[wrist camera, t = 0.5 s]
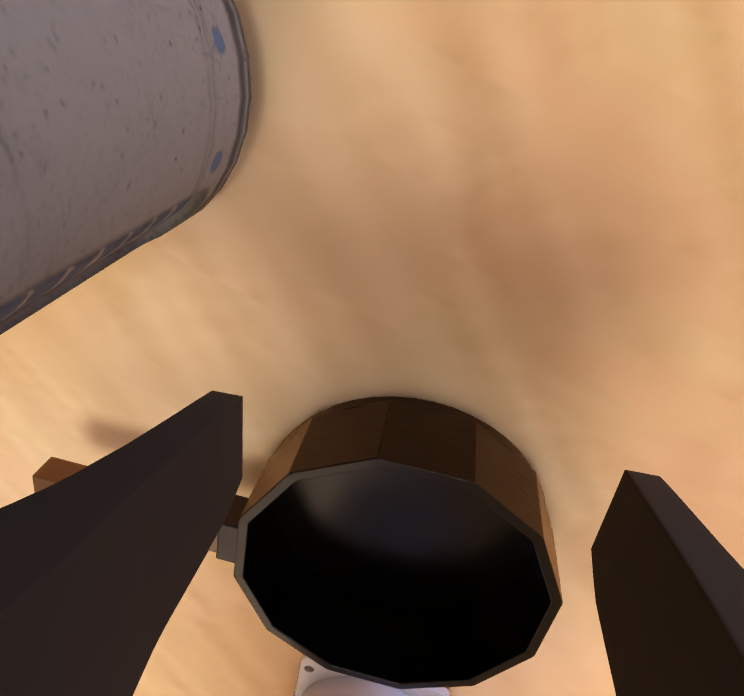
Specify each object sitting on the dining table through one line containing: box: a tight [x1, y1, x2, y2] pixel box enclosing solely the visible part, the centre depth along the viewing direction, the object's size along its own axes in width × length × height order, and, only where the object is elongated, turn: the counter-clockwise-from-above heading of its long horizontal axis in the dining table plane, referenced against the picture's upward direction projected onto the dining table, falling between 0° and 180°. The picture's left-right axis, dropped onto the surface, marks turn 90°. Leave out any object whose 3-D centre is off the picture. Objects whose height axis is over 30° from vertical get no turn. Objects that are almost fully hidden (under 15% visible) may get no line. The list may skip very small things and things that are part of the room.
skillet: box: [33, 396, 563, 689], centre depth 24 cm, size 20×12×4 cm, turn 80°
